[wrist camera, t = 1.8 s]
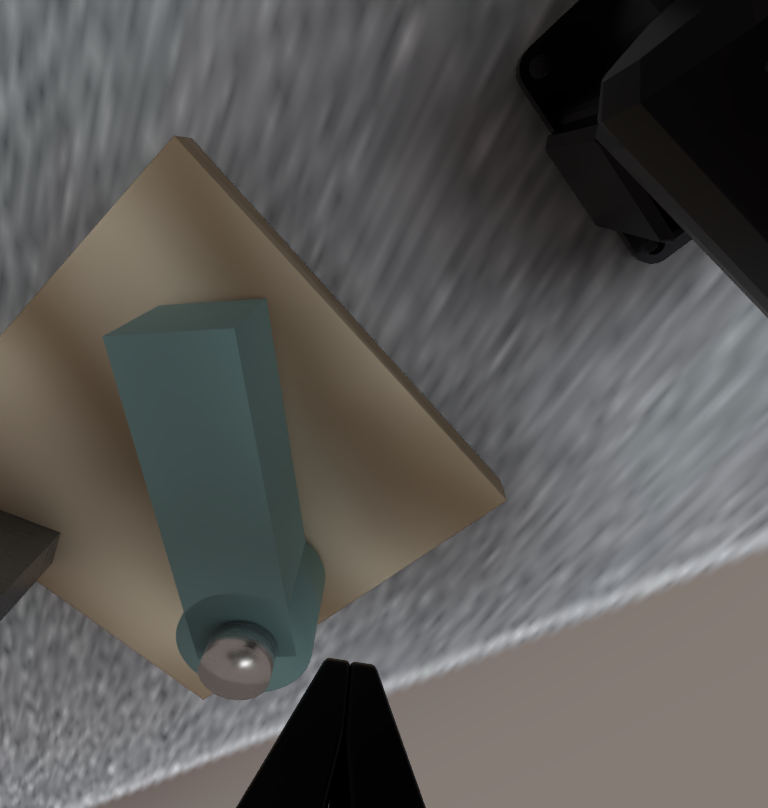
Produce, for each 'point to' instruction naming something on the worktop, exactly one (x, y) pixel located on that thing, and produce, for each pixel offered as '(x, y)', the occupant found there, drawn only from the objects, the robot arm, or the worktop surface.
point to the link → (222, 489)
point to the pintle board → (302, 398)
